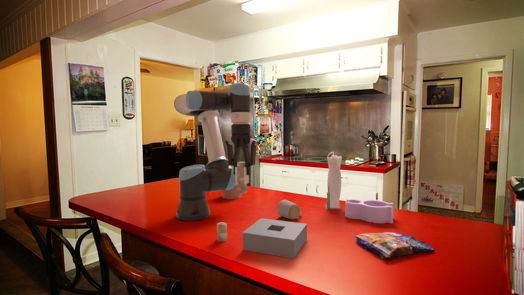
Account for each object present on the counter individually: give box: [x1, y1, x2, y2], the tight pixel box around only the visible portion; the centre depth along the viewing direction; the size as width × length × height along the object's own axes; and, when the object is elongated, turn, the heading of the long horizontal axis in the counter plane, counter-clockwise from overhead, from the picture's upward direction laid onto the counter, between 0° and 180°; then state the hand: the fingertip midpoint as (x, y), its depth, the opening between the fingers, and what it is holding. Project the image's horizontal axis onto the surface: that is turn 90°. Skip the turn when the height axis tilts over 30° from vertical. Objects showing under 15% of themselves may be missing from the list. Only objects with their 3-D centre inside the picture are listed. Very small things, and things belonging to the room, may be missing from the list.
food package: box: [354, 232, 436, 259], centre depth 101 cm, size 22×25×4 cm
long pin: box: [237, 161, 248, 194], centre depth 117 cm, size 4×4×12 cm
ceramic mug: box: [276, 199, 303, 221], centre depth 134 cm, size 11×8×8 cm
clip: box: [344, 198, 394, 224], centre depth 132 cm, size 20×12×7 cm, turn 65°
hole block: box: [242, 218, 308, 259], centre depth 103 cm, size 18×16×6 cm
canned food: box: [221, 183, 242, 200], centre depth 173 cm, size 11×11×12 cm
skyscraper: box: [324, 151, 343, 210], centre depth 149 cm, size 8×8×28 cm
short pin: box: [216, 221, 228, 243], centre depth 108 cm, size 4×4×6 cm
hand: (242, 182), depth 117 cm, fingers closed on long pin, 3 cm apart
